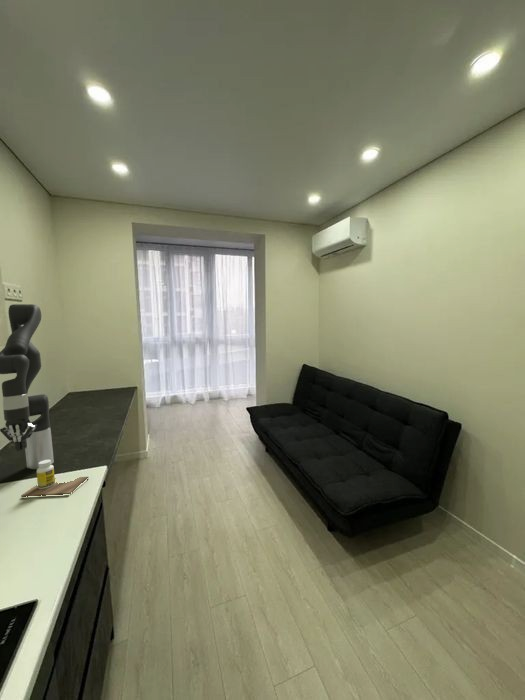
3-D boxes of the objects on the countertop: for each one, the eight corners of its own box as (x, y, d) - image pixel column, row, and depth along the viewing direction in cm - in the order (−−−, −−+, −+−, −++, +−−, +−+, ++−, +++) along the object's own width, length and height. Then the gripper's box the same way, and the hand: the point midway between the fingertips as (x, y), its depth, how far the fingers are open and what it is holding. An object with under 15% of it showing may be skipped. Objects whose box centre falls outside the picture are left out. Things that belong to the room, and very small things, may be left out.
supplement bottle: (47, 489, 111) (45, 464, 111) (34, 489, 111) (32, 464, 111) (58, 482, 116) (56, 458, 116) (45, 482, 117) (43, 458, 116)
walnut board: (21, 498, 108) (21, 495, 108) (45, 481, 120) (44, 479, 120) (69, 495, 108) (69, 492, 108) (88, 479, 120) (88, 476, 120)
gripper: (40, 403, 116) (45, 445, 117) (7, 405, 116) (12, 447, 117) (25, 407, 108) (30, 453, 109) (-10, 410, 108) (-5, 455, 109)
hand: (20, 450), depth 113 cm, fingers closed
